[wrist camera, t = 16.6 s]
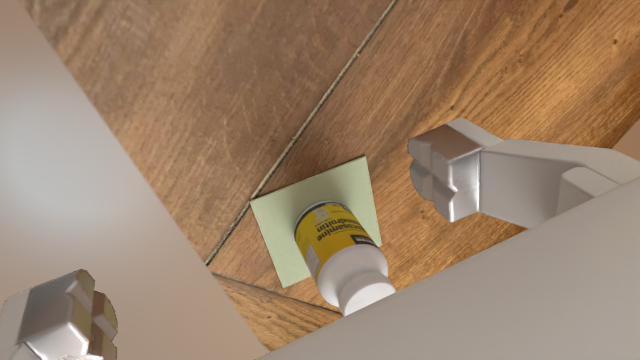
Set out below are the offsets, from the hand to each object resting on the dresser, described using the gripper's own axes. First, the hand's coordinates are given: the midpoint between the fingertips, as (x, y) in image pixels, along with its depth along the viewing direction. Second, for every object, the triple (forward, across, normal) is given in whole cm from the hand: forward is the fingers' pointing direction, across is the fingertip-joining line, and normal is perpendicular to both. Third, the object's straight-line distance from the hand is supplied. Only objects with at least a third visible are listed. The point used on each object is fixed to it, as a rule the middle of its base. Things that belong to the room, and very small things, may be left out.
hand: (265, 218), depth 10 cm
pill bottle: (+24, -7, +22) cm, 34 cm away
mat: (+24, -7, +22) cm, 34 cm away
